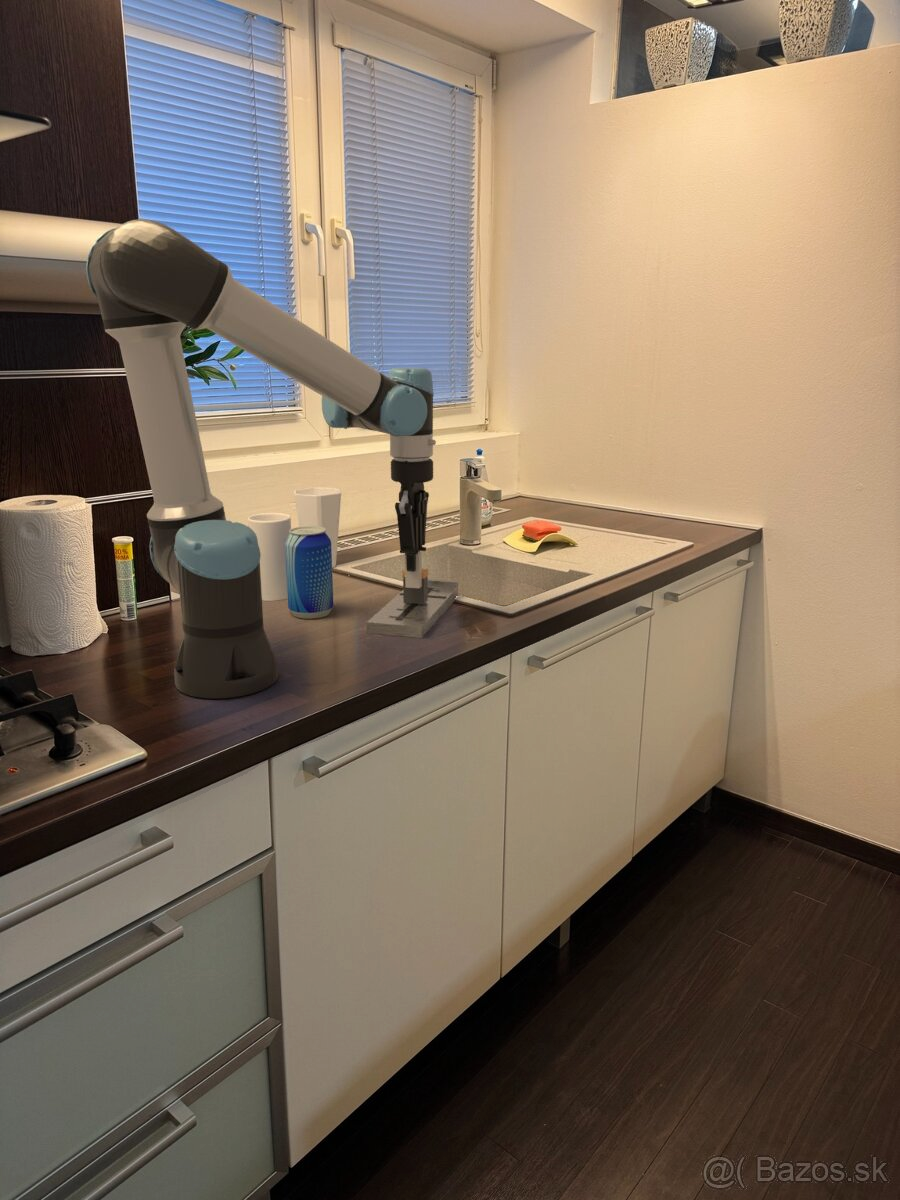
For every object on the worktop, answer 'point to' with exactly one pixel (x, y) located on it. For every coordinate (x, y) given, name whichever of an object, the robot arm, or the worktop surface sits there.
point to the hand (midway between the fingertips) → (413, 586)
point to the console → (414, 611)
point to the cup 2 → (320, 511)
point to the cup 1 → (272, 552)
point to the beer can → (309, 572)
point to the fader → (416, 590)
